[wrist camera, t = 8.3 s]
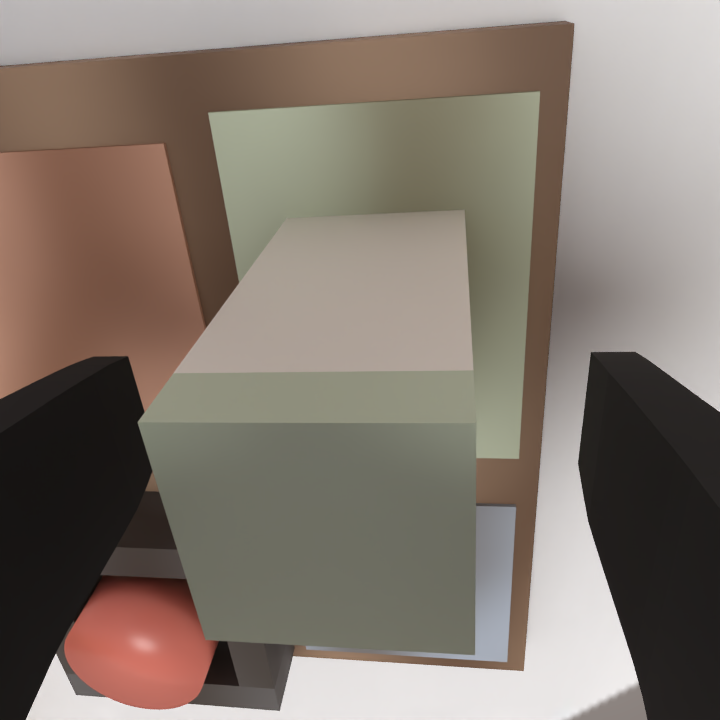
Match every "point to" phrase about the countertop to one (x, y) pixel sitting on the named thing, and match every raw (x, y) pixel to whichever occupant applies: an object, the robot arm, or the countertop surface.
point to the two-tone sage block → (330, 442)
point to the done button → (141, 642)
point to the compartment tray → (260, 223)
